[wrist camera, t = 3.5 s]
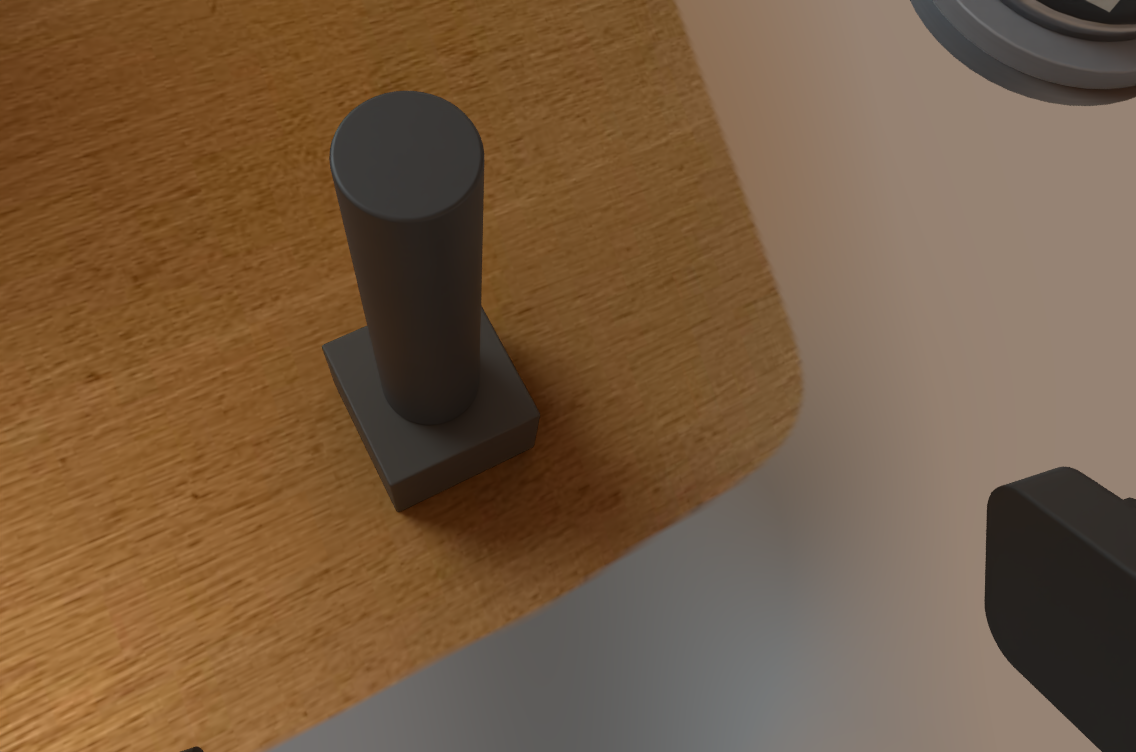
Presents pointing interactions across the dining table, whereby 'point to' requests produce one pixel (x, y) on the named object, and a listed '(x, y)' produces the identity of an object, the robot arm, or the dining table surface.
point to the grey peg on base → (421, 300)
